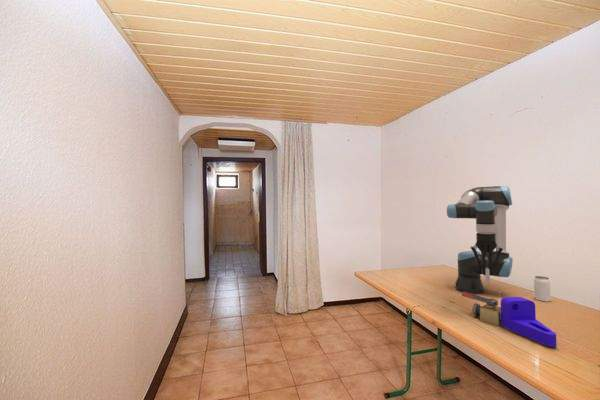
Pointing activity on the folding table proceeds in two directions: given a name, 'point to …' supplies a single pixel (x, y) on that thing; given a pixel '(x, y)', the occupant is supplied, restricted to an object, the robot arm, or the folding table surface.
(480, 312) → the valve
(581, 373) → the folding table surface
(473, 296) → the lever
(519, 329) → the bracket
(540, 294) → the can
